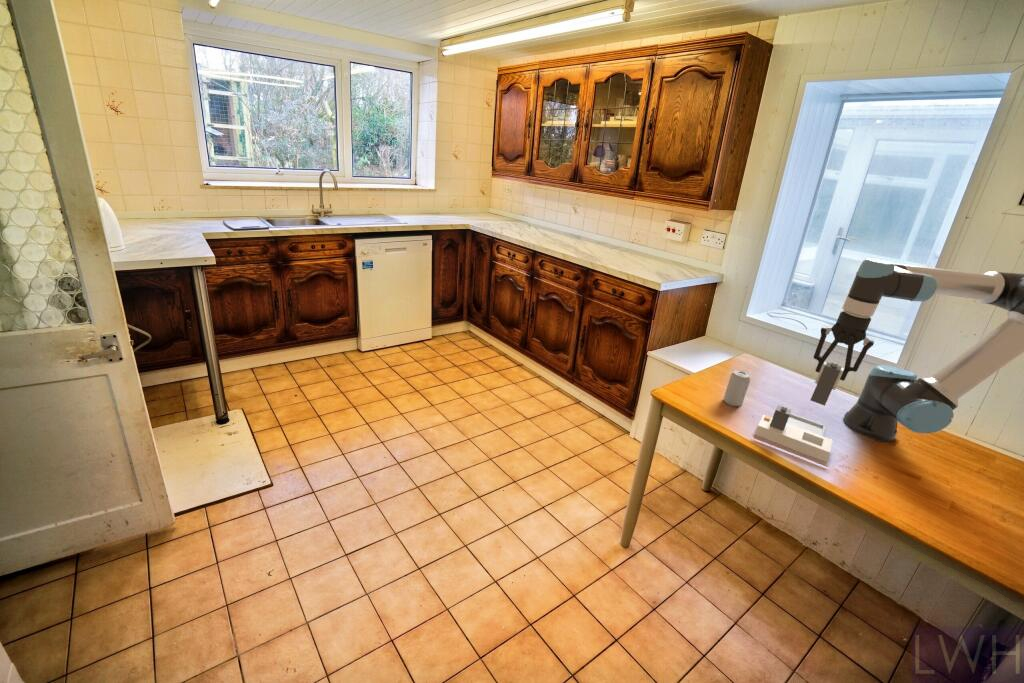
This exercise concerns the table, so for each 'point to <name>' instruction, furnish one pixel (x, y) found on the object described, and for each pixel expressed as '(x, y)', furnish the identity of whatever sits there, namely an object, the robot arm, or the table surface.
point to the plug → (826, 383)
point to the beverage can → (737, 388)
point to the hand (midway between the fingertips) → (825, 385)
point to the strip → (793, 435)
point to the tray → (806, 424)
